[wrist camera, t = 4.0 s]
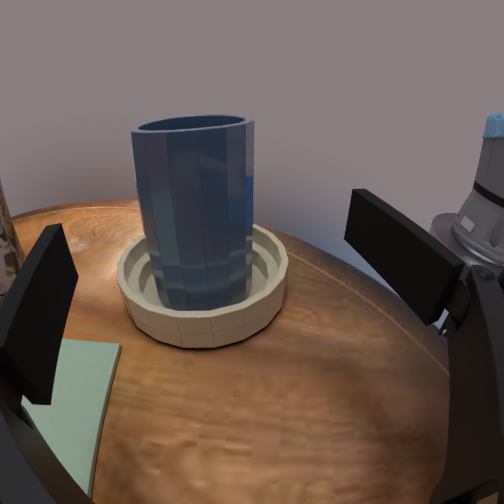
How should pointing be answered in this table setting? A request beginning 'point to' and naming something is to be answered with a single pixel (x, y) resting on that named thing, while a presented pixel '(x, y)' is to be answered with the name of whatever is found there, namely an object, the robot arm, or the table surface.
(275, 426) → the table surface
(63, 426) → the mat
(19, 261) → the coffee box
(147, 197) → the tumbler
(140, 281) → the bowl
